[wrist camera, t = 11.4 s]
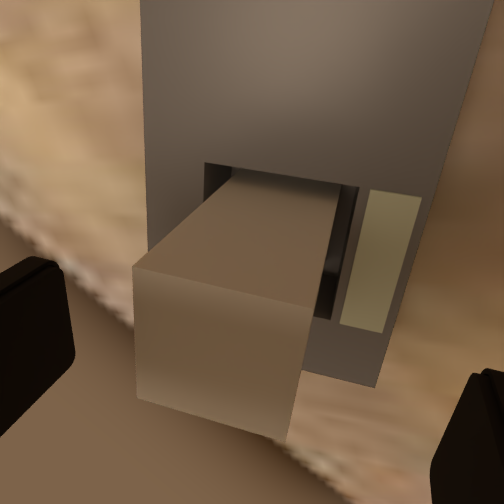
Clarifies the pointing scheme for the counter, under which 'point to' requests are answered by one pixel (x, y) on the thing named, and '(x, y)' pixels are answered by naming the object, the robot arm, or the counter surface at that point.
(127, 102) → the counter surface
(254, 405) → the plug
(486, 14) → the socket block
